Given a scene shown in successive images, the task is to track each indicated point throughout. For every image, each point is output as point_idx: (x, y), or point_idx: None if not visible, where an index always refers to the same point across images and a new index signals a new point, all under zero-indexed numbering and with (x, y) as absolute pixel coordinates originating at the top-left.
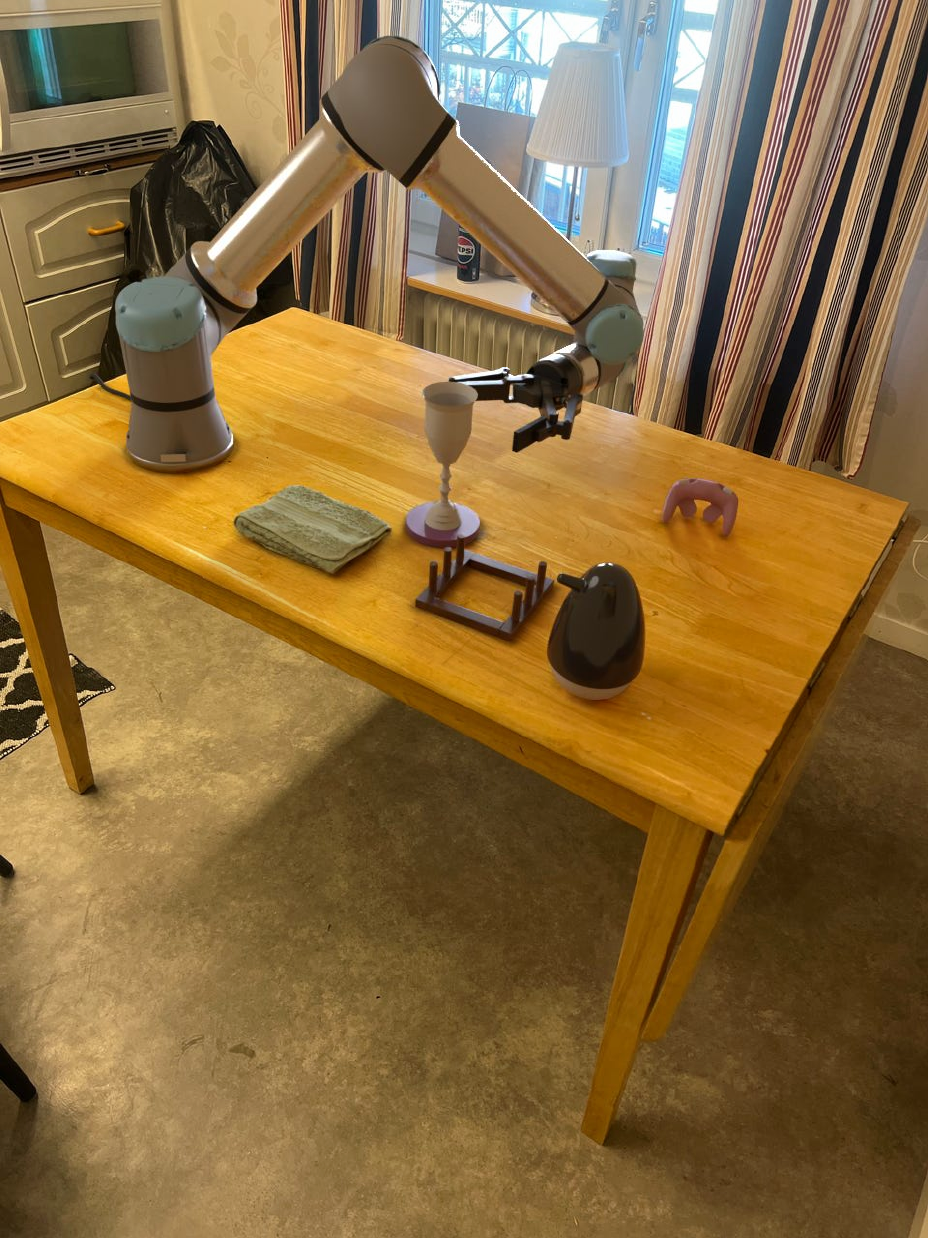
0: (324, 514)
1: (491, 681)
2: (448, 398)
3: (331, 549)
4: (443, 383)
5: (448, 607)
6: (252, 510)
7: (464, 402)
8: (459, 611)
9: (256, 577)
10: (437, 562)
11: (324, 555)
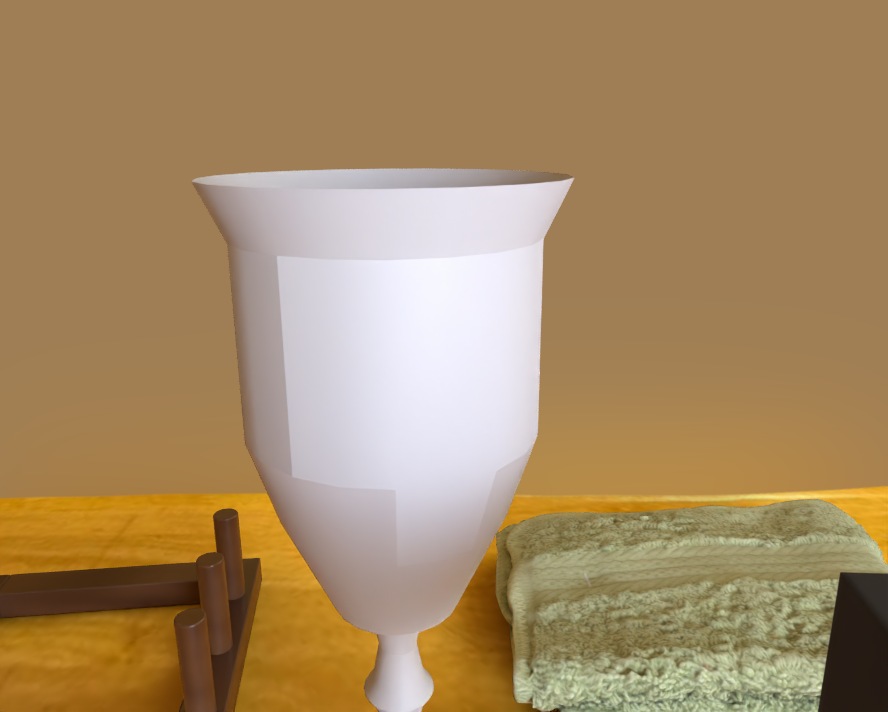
0: (707, 591)
1: (20, 525)
2: (486, 307)
3: (542, 531)
4: (535, 191)
5: (165, 571)
6: (833, 518)
7: (352, 319)
8: (131, 573)
9: (624, 505)
10: (216, 518)
11: (536, 518)
